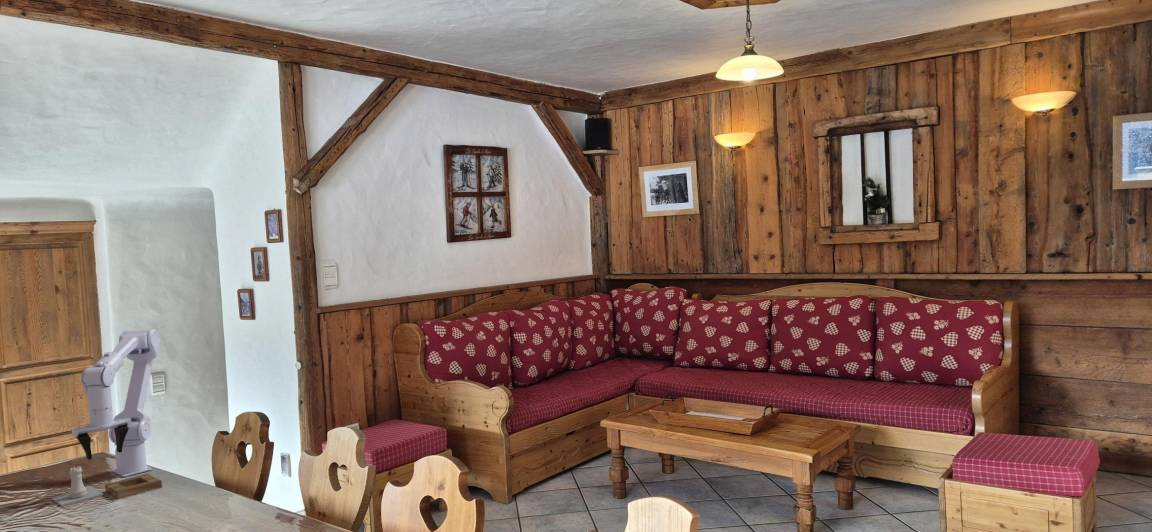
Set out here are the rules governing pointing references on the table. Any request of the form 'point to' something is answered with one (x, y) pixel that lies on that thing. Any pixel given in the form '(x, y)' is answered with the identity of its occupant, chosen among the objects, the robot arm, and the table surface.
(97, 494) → the slate mat
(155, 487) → the square wooden frame
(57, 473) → the table surface
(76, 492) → the rook chess piece
